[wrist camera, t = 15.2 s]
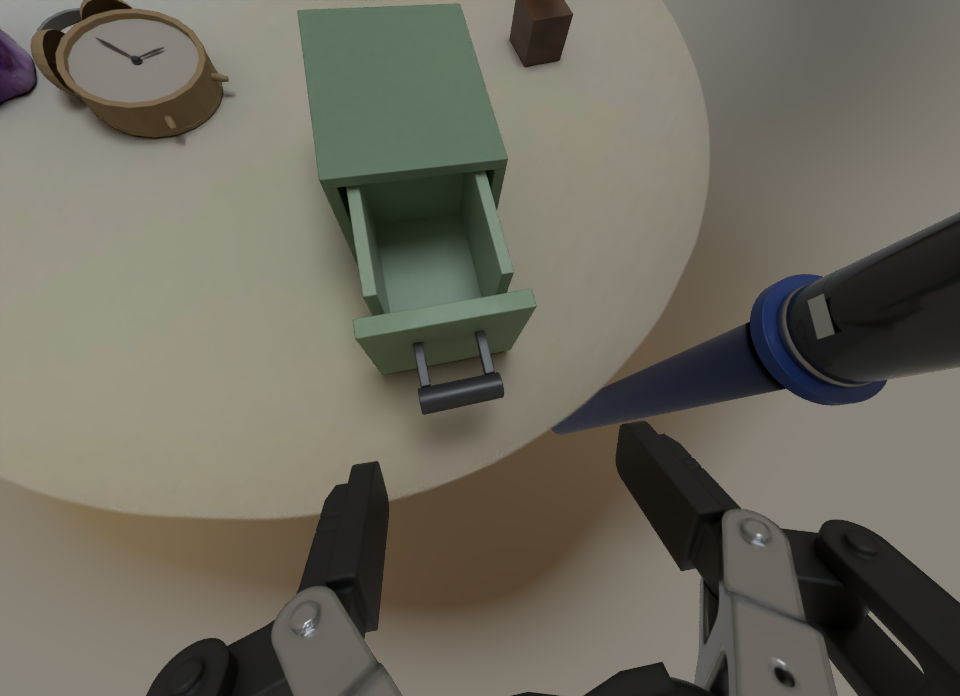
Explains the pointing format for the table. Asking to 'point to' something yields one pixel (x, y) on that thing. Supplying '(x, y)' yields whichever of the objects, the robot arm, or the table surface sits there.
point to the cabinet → (396, 99)
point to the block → (540, 30)
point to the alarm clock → (130, 67)
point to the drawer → (436, 282)
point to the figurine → (14, 69)
